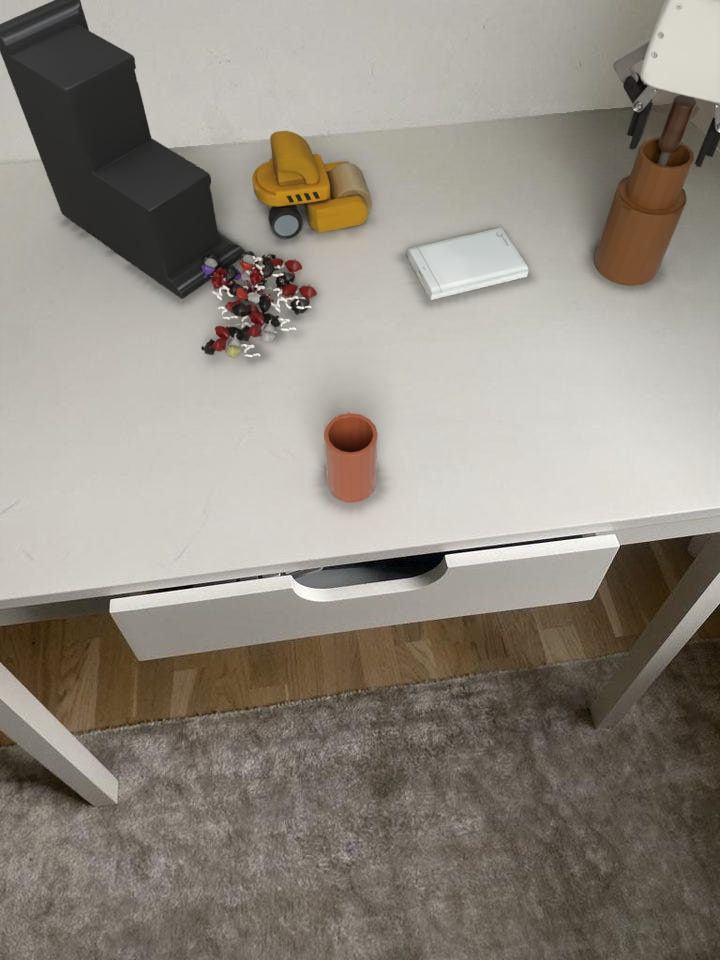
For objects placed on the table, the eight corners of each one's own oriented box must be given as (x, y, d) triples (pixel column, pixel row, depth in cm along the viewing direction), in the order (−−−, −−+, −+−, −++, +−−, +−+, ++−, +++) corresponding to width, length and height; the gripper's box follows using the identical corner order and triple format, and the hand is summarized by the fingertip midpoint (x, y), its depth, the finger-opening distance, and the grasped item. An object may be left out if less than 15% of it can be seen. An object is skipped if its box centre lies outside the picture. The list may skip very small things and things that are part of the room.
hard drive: (501, 225, 95) (407, 246, 93) (529, 268, 90) (432, 291, 88) (499, 236, 96) (406, 257, 94) (527, 279, 92) (430, 301, 90)
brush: (644, 261, 92) (706, 103, 76) (626, 271, 92) (686, 112, 75) (626, 248, 94) (684, 89, 77) (609, 257, 93) (663, 98, 76)
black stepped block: (247, 255, 94) (217, 64, 74) (181, 301, 90) (130, 111, 70) (127, 178, 103) (71, -12, 83) (61, 217, 98) (-14, 26, 79)
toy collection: (179, 273, 90) (175, 244, 86) (296, 256, 94) (298, 227, 90) (206, 375, 84) (203, 349, 80) (330, 352, 88) (333, 327, 84)
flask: (670, 269, 93) (719, 158, 80) (625, 294, 90) (668, 183, 78) (625, 235, 96) (665, 123, 84) (581, 258, 94) (615, 147, 81)
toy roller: (375, 228, 97) (376, 153, 88) (263, 245, 95) (253, 170, 86) (360, 186, 102) (360, 111, 93) (253, 201, 100) (243, 126, 91)
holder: (385, 487, 75) (387, 439, 69) (344, 511, 74) (343, 464, 67) (358, 454, 78) (357, 405, 71) (318, 476, 76) (314, 428, 69)
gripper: (848, -38, 65) (757, 153, 80) (648, -76, 69) (597, 112, 84) (837, 1, 62) (744, 193, 77) (626, -41, 66) (577, 149, 81)
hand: (667, 149), depth 80 cm, fingers open, 6 cm apart
